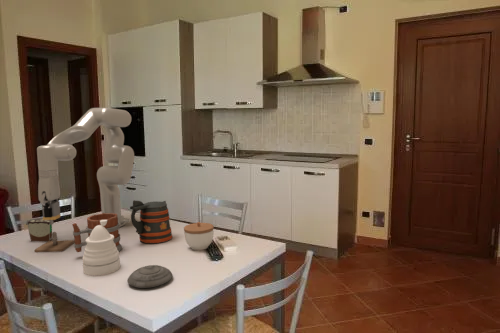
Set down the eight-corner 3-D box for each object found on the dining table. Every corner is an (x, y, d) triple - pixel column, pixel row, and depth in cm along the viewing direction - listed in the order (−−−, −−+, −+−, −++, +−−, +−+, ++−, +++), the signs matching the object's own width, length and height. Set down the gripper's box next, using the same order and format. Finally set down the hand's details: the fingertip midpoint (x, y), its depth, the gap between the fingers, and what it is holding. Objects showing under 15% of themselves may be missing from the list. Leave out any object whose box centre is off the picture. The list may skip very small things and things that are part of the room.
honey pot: (108, 259, 152) (105, 215, 150) (127, 267, 144) (123, 220, 142) (76, 270, 142) (72, 223, 140) (94, 278, 134) (90, 228, 132)
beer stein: (145, 249, 163) (142, 203, 160) (124, 243, 172) (121, 199, 169) (178, 237, 178) (176, 195, 175) (158, 232, 187) (155, 192, 184)
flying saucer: (118, 285, 129) (116, 269, 128) (150, 269, 142) (150, 255, 141) (149, 295, 121) (148, 278, 120) (181, 277, 134) (181, 262, 133)
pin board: (75, 242, 175) (74, 227, 174) (62, 251, 163) (61, 235, 162) (48, 242, 174) (47, 228, 174) (34, 252, 163) (32, 236, 162)
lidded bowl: (219, 244, 167) (218, 219, 166) (204, 254, 156) (203, 227, 154) (195, 241, 173) (194, 217, 171) (178, 250, 161) (177, 224, 160)
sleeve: (60, 216, 169) (59, 201, 168) (55, 219, 164) (53, 203, 163) (49, 217, 169) (47, 201, 168) (43, 220, 164) (41, 204, 163)
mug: (128, 250, 163) (125, 215, 161) (82, 262, 149) (79, 225, 147) (113, 242, 172) (111, 210, 171) (68, 254, 159) (65, 219, 157)
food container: (60, 237, 182) (58, 217, 181) (52, 241, 176) (50, 220, 175) (36, 237, 183) (34, 217, 182) (27, 241, 177) (25, 220, 176)
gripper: (50, 171, 173) (53, 211, 175) (28, 177, 156) (32, 220, 158) (66, 171, 173) (69, 211, 175) (47, 176, 156) (50, 220, 158)
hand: (51, 215), depth 166 cm, fingers closed on sleeve, 5 cm apart
